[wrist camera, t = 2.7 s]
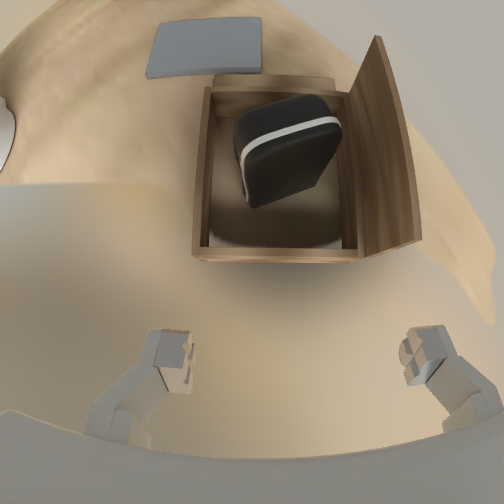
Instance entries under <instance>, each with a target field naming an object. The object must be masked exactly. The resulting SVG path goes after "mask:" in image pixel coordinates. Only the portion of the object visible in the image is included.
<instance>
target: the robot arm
mask: <svg viewBox="0 0 504 504" xmlns="http://www.w3.org/2000/svg"><path fill="white" fill-rule="evenodd" d="M14 132H15V120H14V116H13V114H12V113H11V112H10V111H9V110H8V109H7V108H6V101H5V99H4V98H3V97H1V96H0V171H1V169H2V167H3V165H4V163H5V161H6V159H7V156H8V154H9V151H10V148H11V145H12V142H13V137H14ZM192 341H193V335H192V331H181V330H169V329H159V328H158V329H157V328H150V330H149V331H148V334H147V337H146V341H145V345H144V348H143V351H142V355H141V358H140V362H139V365H134V366H133V367H132V368H131V369H130V370H129V371H128V372H126V373H125V374H124V375H123V376H122V377H121V378H120V379H119V380H118V381H116V382H115V383H114V384H113V385H112V386H111V387H110V388H109V389H108V390H107V391H105V392H104V393H103V394H102V395H101V396H100V397H99V398H98V399H97V400H95V401H94V402H93V404H92V407H91V411H90V414H89V418H88V421H87V425H86V429H85V432H84V434H81V433H78V432H75V431H71V430H68V429H65V428H62V427H58V426H55V425H52V424H49V423H47V422H44V421H41V420H38V419H35V418H33V417H30V416H28V415H25V414H23V413H20V412H18V411H15V410H11V409H9V410H5V411H3V412H2V413H0V504H504V407H503V404H502V401H501V399H500V396H499V393H498V390H497V388H496V386H495V385H494V384H493V383H491V382H490V381H489V380H488V379H487V378H486V377H485V376H483V375H482V374H481V373H480V372H479V371H478V370H477V369H475V368H474V367H473V366H472V365H471V364H470V363H468V362H467V361H466V360H465V359H464V358H463V357H461V356H458V355H457V352H456V350H455V348H454V346H453V343H452V341H451V339H450V336H449V334H448V332H447V330H446V328H445V326H444V325H436V326H423V327H414V328H411V329H409V330H408V332H407V338H406V339H404V340H403V341H402V343H401V345H400V349H399V358H400V362H401V364H403V365H404V366H405V367H406V368H405V371H404V375H405V378H406V382H407V385H408V386H413V385H420V384H425V385H426V387H427V388H428V389H429V390H430V391H431V392H432V393H433V395H434V396H435V397H436V398H437V399H438V400H439V402H440V403H441V404H442V405H443V406H444V407H445V409H446V410H447V411H448V412H449V413H450V414H451V415H450V416H448V417H447V418H446V419H445V420H444V421H443V423H442V426H443V430H444V433H443V434H439V435H436V436H432V437H429V438H425V439H420V440H416V441H412V442H408V443H403V444H398V445H393V446H389V447H383V448H377V449H371V450H365V451H358V452H352V453H343V454H334V455H324V456H313V457H298V458H297V457H296V458H230V457H213V456H201V455H191V454H181V453H173V452H166V451H160V450H153V449H150V448H151V442H152V437H151V436H150V435H149V434H148V432H147V431H146V430H145V429H144V428H143V427H142V425H143V424H144V422H145V421H146V420H147V419H148V418H149V417H150V415H151V414H152V413H153V412H154V411H155V410H156V408H157V407H158V406H159V405H160V404H161V402H162V401H163V400H164V399H165V398H166V396H167V395H168V394H169V392H172V393H187V394H191V391H192V384H193V375H192V372H191V371H192V370H194V368H195V363H196V348H195V344H194V343H192Z"/></svg>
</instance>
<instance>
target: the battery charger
mask: <svg viewBox="0 0 504 504" xmlns="http://www.w3.org/2000/svg"><path fill="white" fill-rule="evenodd" d="M342 136H343V132H342V129H341V124H340V122H339V121H338V119H337V118H336V117H334V115H333V113H332V112H331V110H330V108H329V106H328V105H327V103H326V102H325V101H324V99H323V98H321V97H320V96H318V95H316V94H304V95H299V96H295V97H291V98H287V99H284V100H280V101H276V102H273V103H270V104H266V105H263V106H260V107H257V108H254V109H251V110H249V111H246V112H244V113H243V114H241V115H240V116H239V117H238V118H237V120H236V122H235V123H234V127H233V144H234V152H235V156H236V159H237V162H238V164H239V167H240V170H241V174H242V178H243V189H244V194H245V196H246V201H247V203H248V204H249V206H250V207H251V208H253V209H254V208H257V207H260V206H262V205H265V204H268V203H271V202H273V201H276V200H279V199H281V198H284V197H287V196H290V195H292V194H295V193H298V192H300V191H303V190H306V189H308V188H311V187H314V186H315V185H316V183H317V181H318V179H319V177H320V176H321V174H322V172H323V171H324V169H325V168H326V166H327V165H328V163H329V161H330V160H331V158H332V156H333V155H334V153H335V151H336V149H337V147H338V145H339V143H340V141H341V139H342Z"/></svg>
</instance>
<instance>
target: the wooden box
mask: <svg viewBox="0 0 504 504" xmlns="http://www.w3.org/2000/svg"><path fill="white" fill-rule="evenodd" d="M304 94H316V95H318V96H320V97H321V98H323V99H324V101H325V102H326V103H327V105H328V106H329V108H330V110H331V112H332V113H333V115H334V117H336V118H337V119H338V121H339V122H340V124H341V129H342V132H343V136H342V139H341V141H340V143H339V145H338V147H337V149H336V151H337V163H338V175H339V190H340V207H341V229H342V249H306V248H243V247H209V226H210V205H211V186H212V169H213V154H214V140H215V127H216V117H239V116H240V115H241V114H243V113H244V112H246V111H249V110H251V109H254V108H257V107H260V106H263V105H266V104H270V103H273V102H276V101H280V100H284V99H287V98H291V97H295V96H299V95H304ZM421 240H422V230H421V219H420V209H419V200H418V192H417V184H416V177H415V170H414V164H413V158H412V152H411V147H410V142H409V137H408V132H407V127H406V122H405V118H404V114H403V109H402V105H401V101H400V97H399V94H398V90H397V86H396V83H395V79H394V76H393V72H392V69H391V65H390V62H389V59H388V56H387V53H386V50H385V47H384V44H383V41H382V38H381V36H376V35H375V36H374V38H373V40H372V43H371V45H370V47H369V50H368V52H367V54H366V56H365V59H364V61H363V63H362V65H361V68H360V70H359V72H358V74H357V77H356V79H355V81H354V83H353V86H352V88H351V90H350V92H349V93H347V92H339V91H336V89H335V82H334V79H326V78H316V77H303V76H288V75H258V74H234V75H214V80H213V87H205V91H204V99H203V108H202V117H201V127H200V137H199V148H198V159H197V171H196V184H195V199H194V215H193V233H192V255H193V256H194V257H196V258H197V259H199V260H201V261H223V262H225V261H226V262H292V263H350V262H353V261H356V260H359V259H362V258H365V257H374V256H377V255H380V254H383V253H386V252H389V251H392V250H394V249H398V248H400V247H403V246H406V245H409V244H412V243H415V242H418V241H421Z"/></svg>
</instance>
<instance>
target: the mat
mask: <svg viewBox="0 0 504 504" xmlns="http://www.w3.org/2000/svg"><path fill="white" fill-rule="evenodd" d="M213 73H261V17H228V18H208V19H196V20H185V21H176V22H169V23H161V24H160V26H159V29H158V32H157V36H156V39H155V42H154V45H153V49H152V52H151V55H150V59H149V63H148V66H147V70H146V77H147V79H153V78H161V77H171V76H182V75H195V74H213Z"/></svg>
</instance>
